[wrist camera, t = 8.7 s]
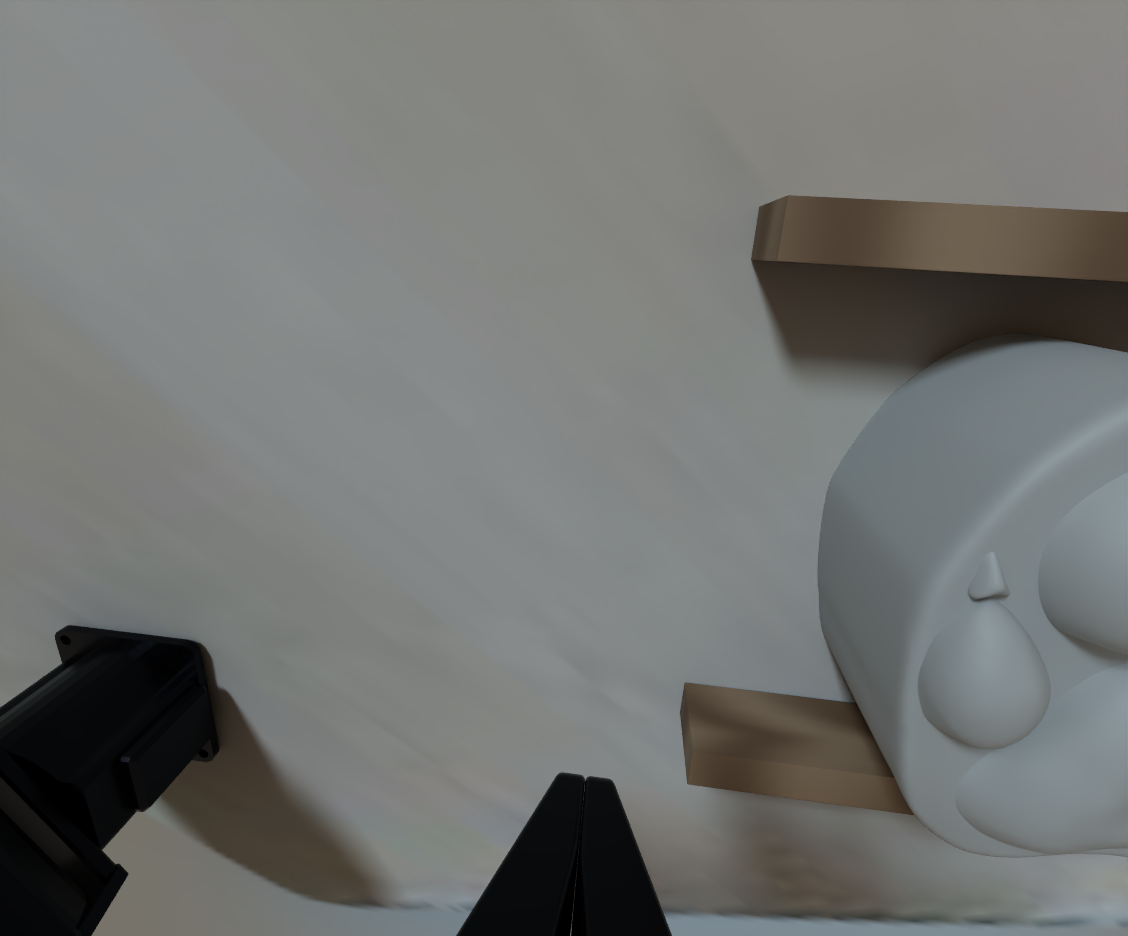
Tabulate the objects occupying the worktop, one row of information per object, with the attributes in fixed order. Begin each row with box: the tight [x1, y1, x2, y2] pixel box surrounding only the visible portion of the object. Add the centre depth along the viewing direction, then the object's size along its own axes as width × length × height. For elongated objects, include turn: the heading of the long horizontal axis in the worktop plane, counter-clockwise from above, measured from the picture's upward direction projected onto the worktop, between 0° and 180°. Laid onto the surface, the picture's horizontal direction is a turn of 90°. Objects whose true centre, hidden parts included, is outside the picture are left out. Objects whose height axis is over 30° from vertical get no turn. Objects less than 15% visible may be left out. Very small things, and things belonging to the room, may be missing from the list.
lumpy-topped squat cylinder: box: [818, 334, 1128, 857], centre depth 16 cm, size 10×13×9 cm
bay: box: [680, 195, 1128, 815], centre depth 18 cm, size 18×19×4 cm
